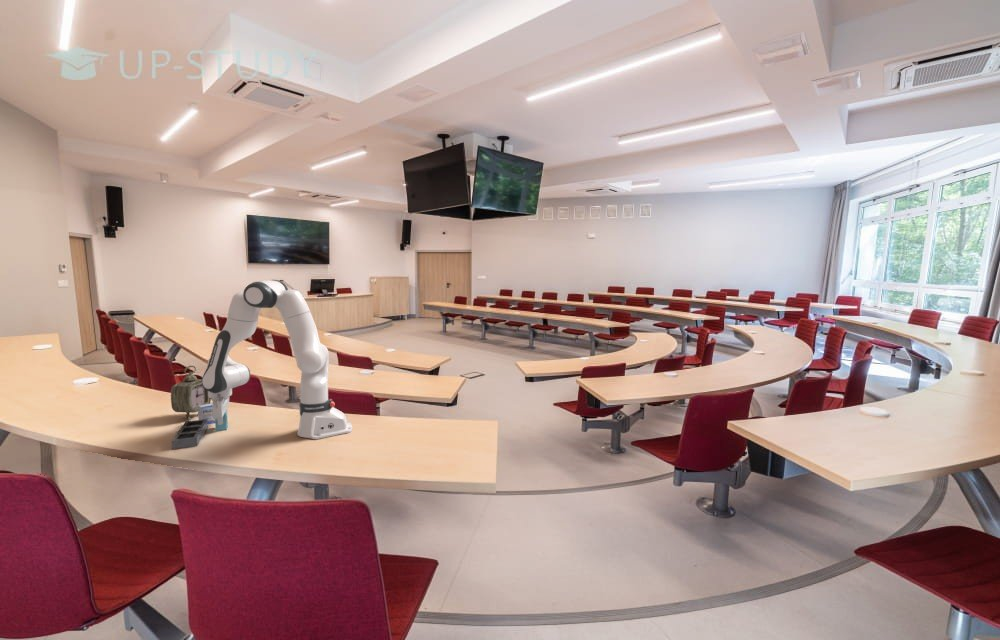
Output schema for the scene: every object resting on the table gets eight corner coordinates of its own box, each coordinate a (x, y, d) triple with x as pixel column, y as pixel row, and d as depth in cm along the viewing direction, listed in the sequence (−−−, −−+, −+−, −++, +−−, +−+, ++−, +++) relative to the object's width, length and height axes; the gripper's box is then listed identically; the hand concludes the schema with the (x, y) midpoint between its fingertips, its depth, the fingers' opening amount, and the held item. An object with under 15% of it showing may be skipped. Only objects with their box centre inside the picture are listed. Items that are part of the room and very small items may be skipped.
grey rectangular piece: (207, 426, 187) (207, 419, 187) (197, 446, 166) (196, 437, 165) (186, 429, 183) (185, 421, 183) (172, 449, 162) (171, 440, 162)
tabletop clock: (189, 422, 192) (186, 369, 189) (170, 422, 192) (167, 368, 189) (211, 412, 206) (209, 363, 204) (193, 412, 206) (191, 362, 204)
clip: (227, 427, 187) (226, 409, 186) (226, 430, 183) (225, 412, 183) (217, 428, 185) (216, 410, 184) (215, 431, 182) (214, 413, 181)
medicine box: (201, 426, 188) (201, 407, 187) (198, 423, 190) (197, 405, 190) (221, 421, 194) (220, 403, 193) (218, 419, 197) (217, 401, 196)
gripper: (225, 397, 175) (226, 429, 176) (231, 385, 193) (232, 414, 194) (207, 398, 172) (208, 431, 173) (215, 387, 190) (216, 416, 192)
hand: (221, 422), depth 184 cm, fingers closed on clip, 4 cm apart
